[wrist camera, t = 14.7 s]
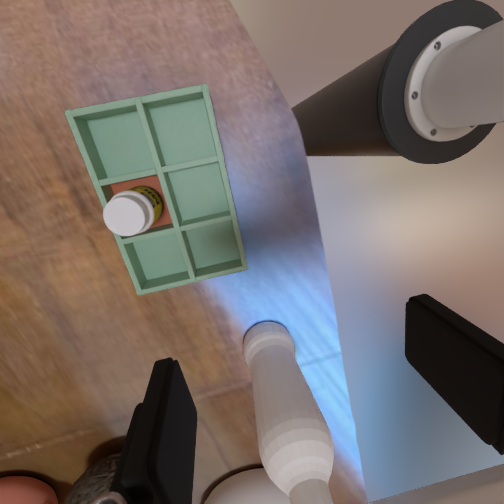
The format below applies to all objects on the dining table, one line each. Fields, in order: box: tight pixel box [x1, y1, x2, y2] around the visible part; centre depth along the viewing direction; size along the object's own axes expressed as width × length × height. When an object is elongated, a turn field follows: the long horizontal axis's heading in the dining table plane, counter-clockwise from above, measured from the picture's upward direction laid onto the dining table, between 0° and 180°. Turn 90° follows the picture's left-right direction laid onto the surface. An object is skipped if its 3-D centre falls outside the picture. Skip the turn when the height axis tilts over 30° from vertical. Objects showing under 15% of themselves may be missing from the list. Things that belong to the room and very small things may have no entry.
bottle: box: [243, 322, 334, 504], centre depth 31 cm, size 8×8×30 cm
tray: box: [64, 83, 248, 295], centre depth 33 cm, size 15×22×4 cm
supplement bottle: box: [103, 186, 164, 236], centre depth 30 cm, size 5×5×8 cm
